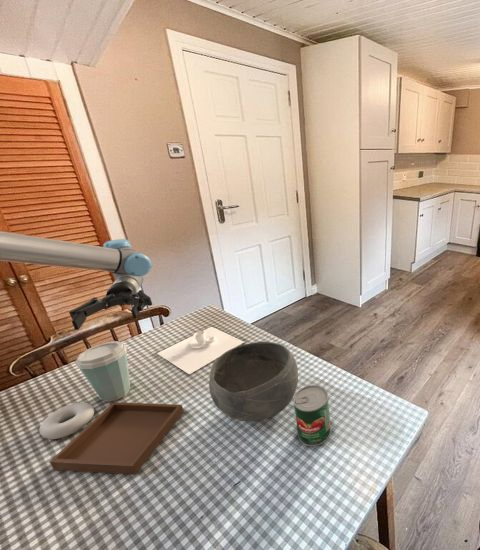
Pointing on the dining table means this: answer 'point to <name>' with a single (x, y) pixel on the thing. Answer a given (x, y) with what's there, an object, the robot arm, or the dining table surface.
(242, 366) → the bowl
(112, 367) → the disposable coffee cup
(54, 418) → the donut
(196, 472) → the dining table surface
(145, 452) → the tray
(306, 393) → the canned tomato
